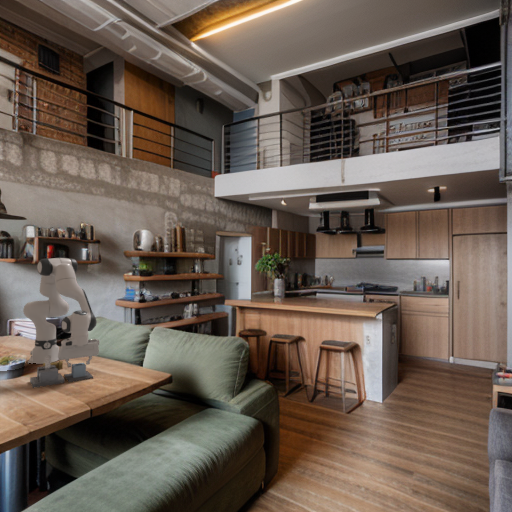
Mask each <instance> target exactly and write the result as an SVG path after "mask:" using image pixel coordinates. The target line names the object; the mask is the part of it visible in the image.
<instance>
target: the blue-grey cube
mask: <svg viewBox="0 0 512 512" xmlns="http://www.w3.org/2000/svg"><path fill="white" fill-rule="evenodd" d="M86 371H87V364H86V363H85V362H79V363H71V375H72V377H73V378H76V377H83V376H86Z"/></svg>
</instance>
